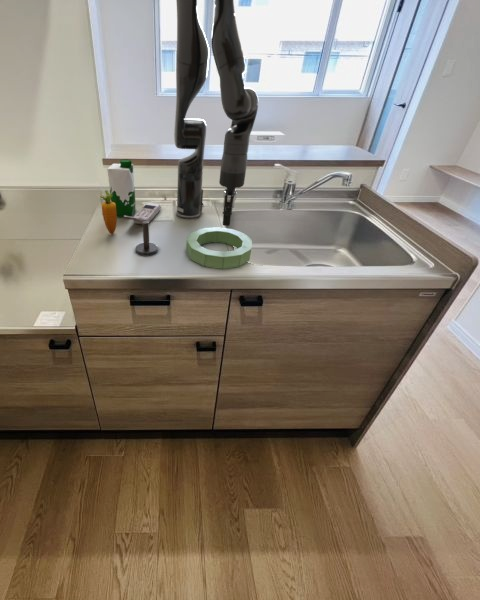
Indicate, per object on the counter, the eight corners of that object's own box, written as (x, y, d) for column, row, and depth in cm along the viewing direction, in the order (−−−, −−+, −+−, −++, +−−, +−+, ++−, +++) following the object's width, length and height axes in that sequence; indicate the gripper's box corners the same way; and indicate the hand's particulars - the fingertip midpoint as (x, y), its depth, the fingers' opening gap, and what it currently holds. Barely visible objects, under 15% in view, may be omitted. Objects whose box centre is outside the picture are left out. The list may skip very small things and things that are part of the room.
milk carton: (132, 218, 121) (128, 163, 109) (110, 217, 122) (103, 162, 110) (138, 210, 128) (135, 158, 116) (116, 209, 129) (111, 156, 117)
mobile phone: (122, 215, 108) (148, 192, 127) (124, 231, 112) (149, 207, 131) (139, 218, 107) (162, 194, 126) (139, 234, 111) (162, 209, 130)
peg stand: (147, 243, 105) (146, 215, 99) (162, 250, 101) (161, 222, 95) (131, 250, 101) (129, 222, 95) (145, 257, 97) (144, 229, 91)
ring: (213, 233, 112) (214, 222, 110) (262, 252, 101) (264, 241, 99) (174, 251, 101) (174, 240, 98) (223, 275, 89) (225, 263, 87)
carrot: (116, 238, 107) (111, 194, 98) (102, 237, 108) (96, 193, 99) (121, 232, 111) (117, 189, 102) (108, 231, 112) (102, 188, 103)
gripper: (245, 176, 88) (237, 230, 98) (246, 163, 99) (239, 212, 109) (218, 174, 89) (213, 227, 99) (223, 161, 100) (218, 210, 110)
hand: (227, 219), depth 104 cm, fingers open, 8 cm apart
